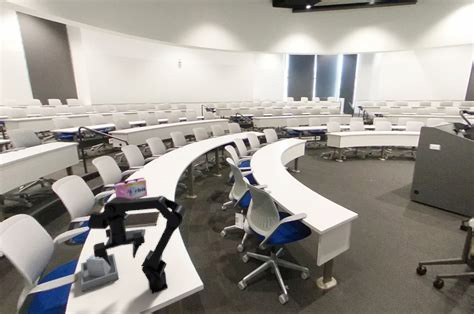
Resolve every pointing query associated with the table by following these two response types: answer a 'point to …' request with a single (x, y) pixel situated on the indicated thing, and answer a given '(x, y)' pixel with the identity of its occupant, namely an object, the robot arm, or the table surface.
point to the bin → (95, 281)
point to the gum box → (131, 188)
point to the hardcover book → (142, 219)
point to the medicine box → (97, 266)
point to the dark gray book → (129, 235)
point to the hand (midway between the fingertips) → (122, 261)
